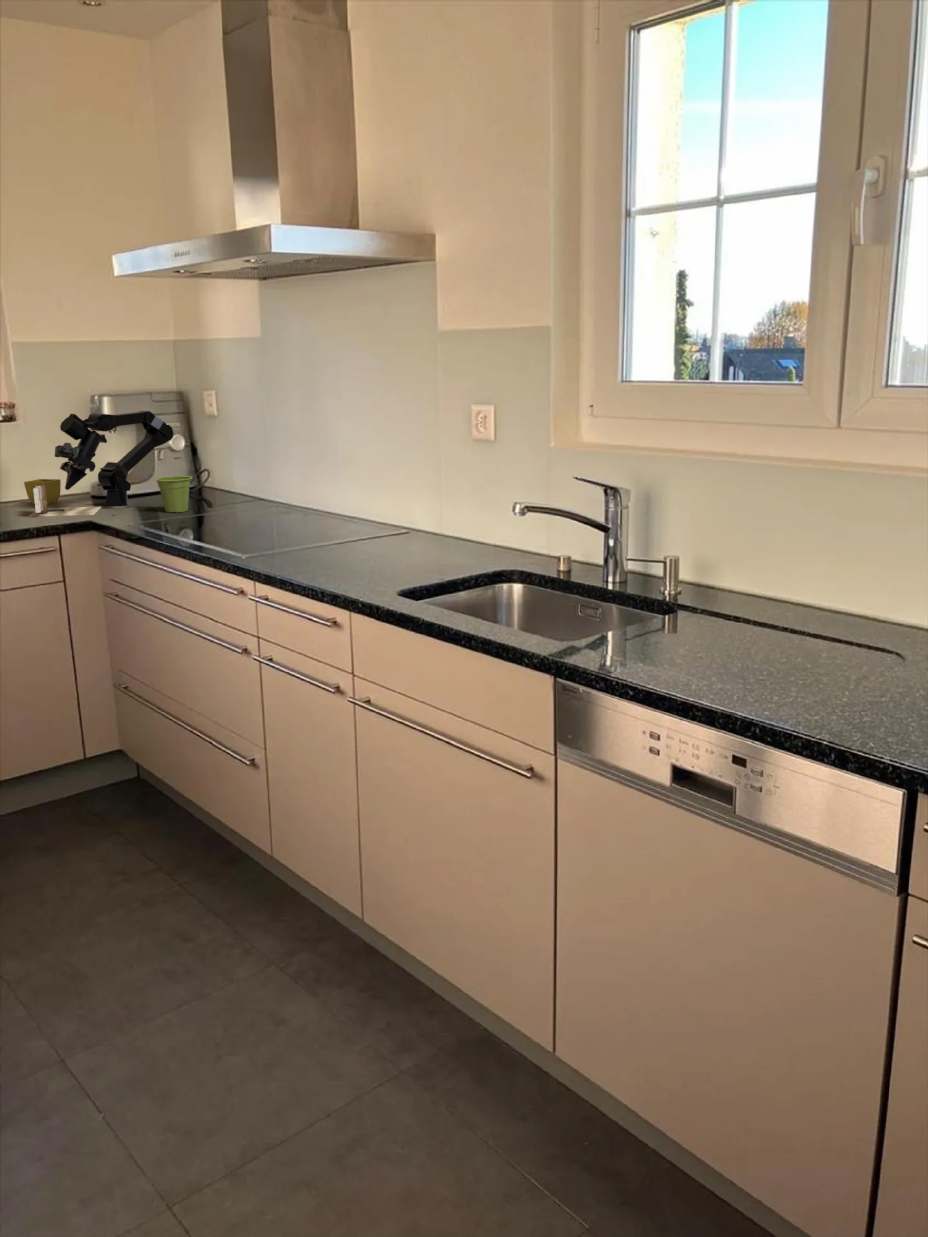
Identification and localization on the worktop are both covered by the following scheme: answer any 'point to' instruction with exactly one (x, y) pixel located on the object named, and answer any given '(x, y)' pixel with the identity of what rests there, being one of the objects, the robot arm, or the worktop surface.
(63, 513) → the board
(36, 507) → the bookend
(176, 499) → the plant pot
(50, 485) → the flower pot
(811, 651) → the worktop surface
